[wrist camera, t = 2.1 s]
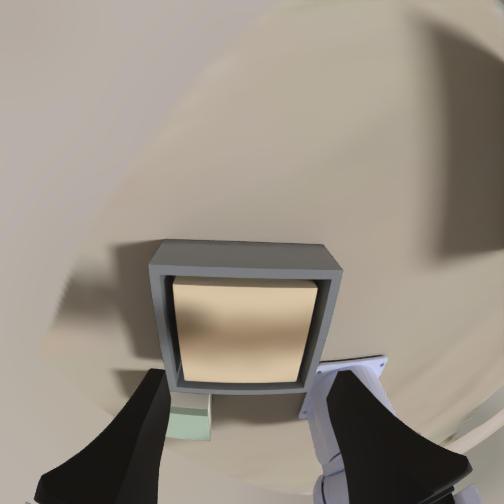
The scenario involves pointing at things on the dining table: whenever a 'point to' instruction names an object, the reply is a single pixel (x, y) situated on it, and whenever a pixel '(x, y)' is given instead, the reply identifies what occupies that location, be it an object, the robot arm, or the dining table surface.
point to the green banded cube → (190, 416)
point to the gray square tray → (242, 266)
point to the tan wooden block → (242, 327)
